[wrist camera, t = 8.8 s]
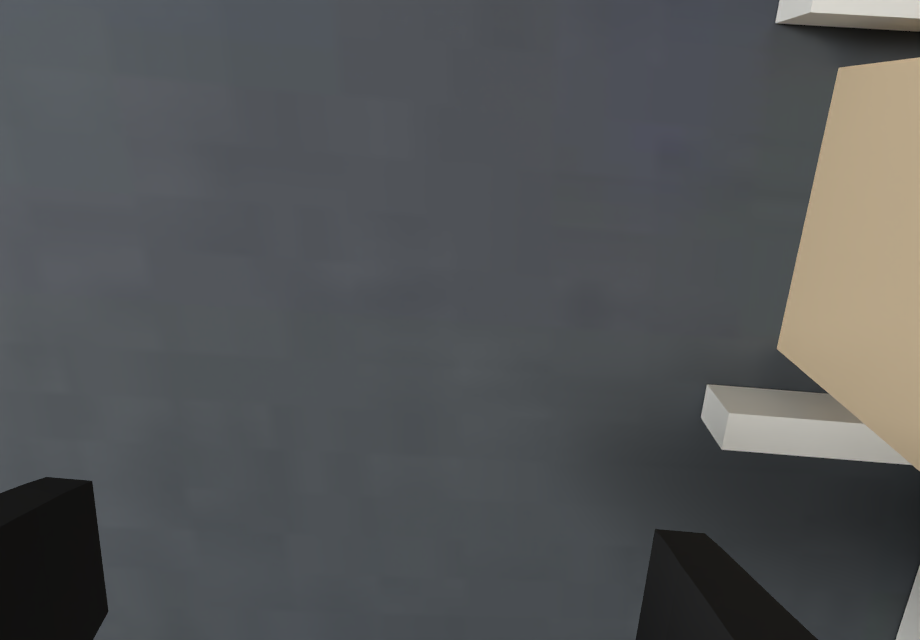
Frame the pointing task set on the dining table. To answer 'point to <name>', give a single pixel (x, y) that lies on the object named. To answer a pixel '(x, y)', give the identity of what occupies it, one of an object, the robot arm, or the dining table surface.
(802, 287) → the box
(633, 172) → the dining table surface
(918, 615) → the white letter f
